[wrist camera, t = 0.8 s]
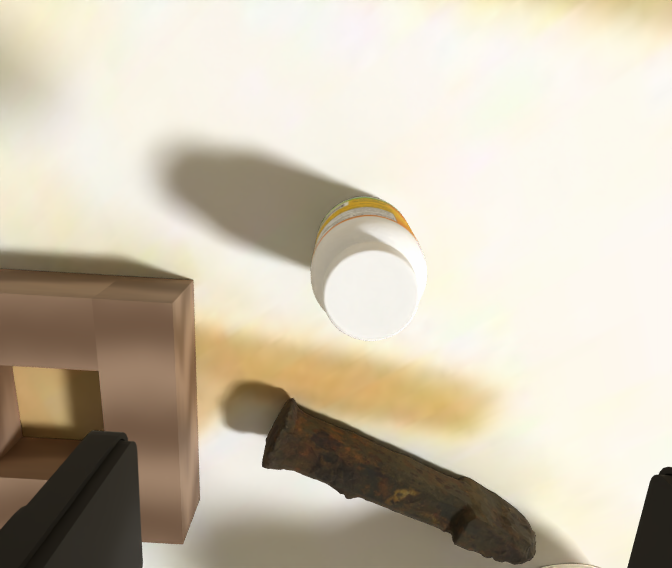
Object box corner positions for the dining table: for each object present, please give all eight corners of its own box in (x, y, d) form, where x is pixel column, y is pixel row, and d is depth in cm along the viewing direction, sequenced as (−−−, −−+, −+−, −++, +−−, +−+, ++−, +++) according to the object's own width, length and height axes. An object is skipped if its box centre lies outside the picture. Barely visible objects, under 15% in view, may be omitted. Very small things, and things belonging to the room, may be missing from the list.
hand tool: (262, 434, 35) (250, 481, 31) (288, 387, 34) (280, 429, 29) (501, 542, 38) (522, 599, 33) (533, 501, 36) (559, 555, 32)
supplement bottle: (405, 287, 31) (431, 360, 22) (315, 282, 31) (303, 354, 22) (414, 197, 30) (445, 235, 20) (319, 192, 30) (307, 228, 20)
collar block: (-74, 264, 31) (-132, 285, 28) (193, 280, 31) (172, 303, 28) (-31, 485, 36) (-75, 529, 33) (199, 499, 36) (182, 544, 33)
